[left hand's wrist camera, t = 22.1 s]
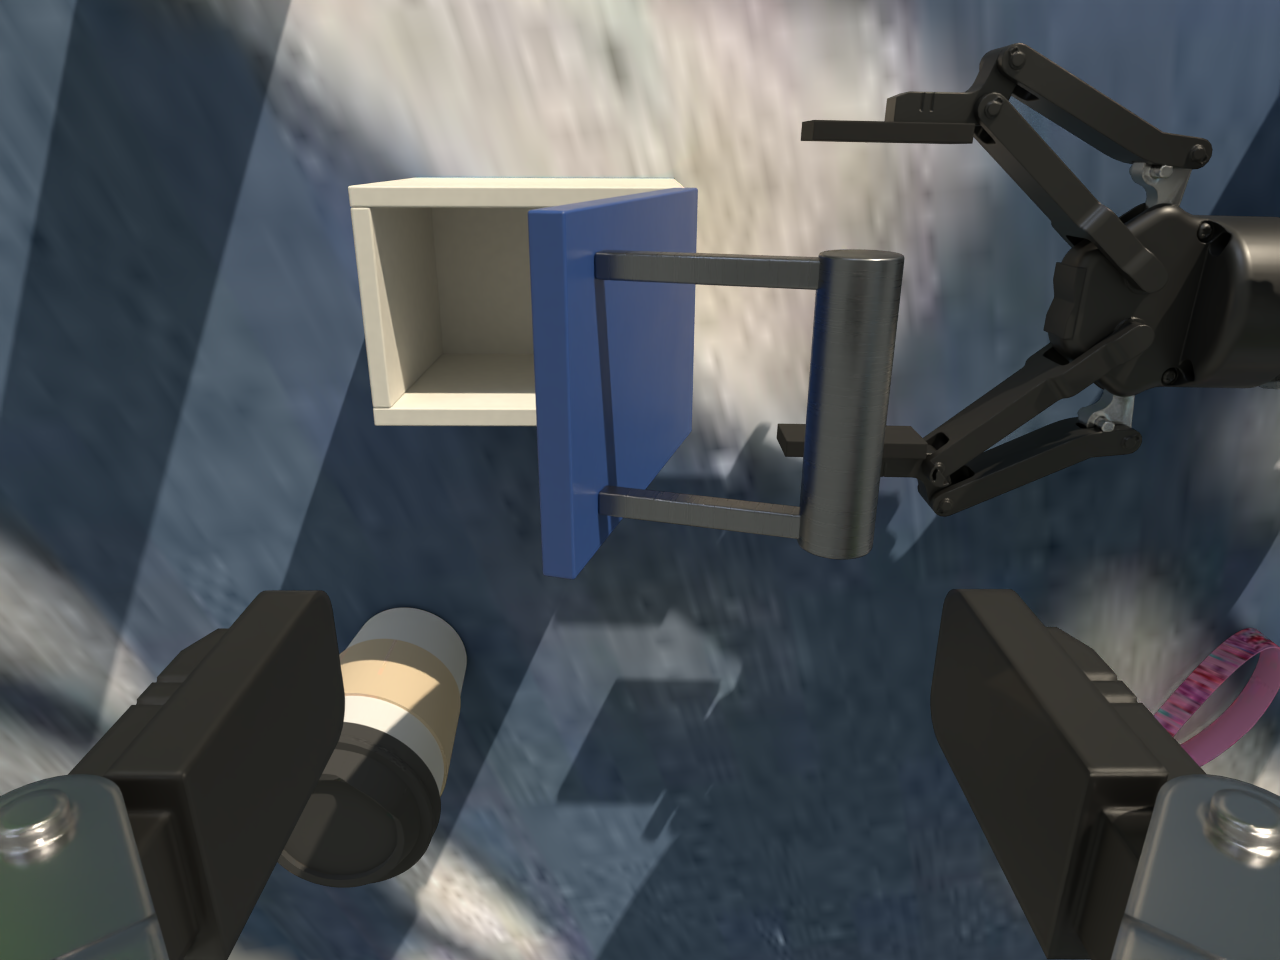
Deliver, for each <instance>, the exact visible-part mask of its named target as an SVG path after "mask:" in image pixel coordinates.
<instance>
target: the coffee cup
mask: <svg viewBox="0 0 1280 960" xmlns="http://www.w3.org/2000/svg"><path fill="white" fill-rule="evenodd" d="M339 657H340V664H341V671H342V677H343V684H344V692H345V715H344V723H343V728H342V732H341V735H340V738H339V741H338V743H337V745H336V747H335V749H334V751H333V753H332V755H331V757H330V759H329V761H328V763H327V765H326V767H325V769H324V771H323V773H322V775H321V777H320V779H319V781H318V783H317V785H316V787H315V789H314V791H313V793H312V795H311V796H310V798H309V800H308V802H307V804H306V806H305V808H304V810H303V812H302V814H301V816H300V818H299V820H298V822H297V824H296V826H295V828H294V830H293V832H292V834H291V836H290V838H289V840H288V842H287V844H286V846H285V848H284V849H283V851H282V853H281V855H280V857H279V859H278V861H277V862H278V863H279V864H280V865H281V866H283V867H284V868H285V869H287V870H288V871H289V872H291V873H293V874H294V875H296V876H298V877H300V878H302V879H305V880H307V881H310V882H313V883H316V884H320V885H324V886H330V887H357V886H362V885H366V884H369V883H376V882H380V881H384V880H387V879H390V878H392V877H395V876H397V875H399V874H401V873H403V872H405V871H406V870H408V869H409V868H411V867H412V866H413V865H414V864H415V863H416V862H417V861H418V860H419V859H420V858H421V857H422V856H423V854H424V853H425V851H426V850H427V848H428V846H429V844H430V841H431V838H432V836H433V834H434V832H435V830H436V828H437V826H438V822H439V818H440V812H441V800H440V796H441V795H442V793H443V790H444V788H445V784H446V780H447V775H448V770H449V765H450V759H451V754H452V749H453V744H454V739H455V734H456V729H457V724H458V718H459V713H460V707H461V699H460V695H461V691H462V686H463V681H464V676H465V671H466V665H467V656H466V651H465V647H464V645H463V642H462V640H461V639H460V637H459V635H458V634H457V633H456V631H455V630H454V629H453V628H452V627H451V626H450V625H449V624H448V623H447V622H445V621H444V620H443V619H441V618H439V617H438V616H436V615H434V614H432V613H429V612H427V611H424V610H420V609H415V608H394V609H389V610H386V611H383V612H381V613H378V614H377V615H375V616H373V617H372V618H371V619H369V620H368V621H367V622H366V623H365V624H364V626H363V627H362V628H361V630H360V631H359V632H358V634H357V635H356V636H355V638H354V639H353V640H352V642H351V643H350V644H349V646H348V647H347V648H346V650H345V651H343V652H342V653H341V654H340V655H339Z"/></svg>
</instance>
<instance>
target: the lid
mask: <svg viewBox="0 0 1280 960" xmlns="http://www.w3.org/2000/svg"><path fill="white" fill-rule="evenodd" d="M697 200H698V190H697V188H669V189H663V190H656V191H650V192H643V193H637V194H631V195H624V196H618V197H611V198H605V199H598V200H592V201H585V202H579V203H572V204H566V205H559V206H553V207H546V208H540V209H534V210H530V211H528V234H529V258H530V281H531V305H532V329H533V352H534V376H535V400H536V423H537V447H538V471H539V494H540V518H541V541H542V565H543V575H545V576H551V577H558V578H565V579H571V580H572V579H575V578H576V577H577V575H578V574H579V573H580V572H581V570H582V569H583V568H584V567H585V565H586V564H587V563H588V561H589V560H590V559H591V558H592V556H593V555H594V554H595V553H596V551H597V550H598V549H599V548H600V546H601V545H602V544H603V542H604V541H605V540H606V539H607V537H608V536H609V535H610V534H611V532H612V531H613V530H614V529H615V527H616V526H617V525H618V523H619V522H620V521H621V520H622V518H631V519H640V520H648V521H656V522H664V523H672V524H681V525H689V526H697V527H705V528H713V529H722V530H730V531H738V532H746V533H754V534H762V535H771V536H779V537H787V538H795V539H797V541H798V543H799V545H800V546H801V548H803V549H804V550H805V551H807V552H809V553H811V554H814V555H817V556H820V557H824V558H830V559H854V558H859V557H862V556H864V555H866V554H868V553H869V552H870V551H871V549H872V546H873V537H874V528H875V519H876V510H877V501H878V492H879V483H880V474H881V465H882V456H883V447H884V438H885V429H886V420H887V411H888V402H889V393H890V384H891V375H892V366H893V357H894V348H895V339H896V330H897V321H898V312H899V303H900V294H901V284H902V275H903V266H904V256H903V255H902V254H899V253H895V252H888V251H878V250H829V251H824V252H821V253H820V254H819V257H793V256H765V255H737V254H708V253H696V239H697ZM695 284H701V285H723V286H745V287H767V288H789V289H811V290H816V297H815V310H814V324H813V337H812V350H811V363H810V377H809V390H808V403H807V416H806V429H805V443H804V456H803V469H802V482H801V496H800V507H796V506H787V505H778V504H769V503H760V502H751V501H742V500H733V499H724V498H716V497H707V496H698V495H689V494H680V493H671V492H662V491H653V490H645V489H646V488H647V487H648V485H649V484H650V483H651V482H652V480H653V479H654V478H655V477H656V475H657V474H658V473H659V472H660V470H661V469H662V468H663V466H664V465H665V464H666V463H667V461H668V460H669V459H670V458H671V456H672V455H673V454H674V453H675V451H676V450H677V449H678V447H679V446H680V445H681V444H682V442H683V441H684V440H685V439H686V437H687V436H688V435H689V434H690V432H691V431H692V395H693V356H694V317H695Z"/></svg>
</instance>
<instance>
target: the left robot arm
mask: <svg viewBox="0 0 1280 960" xmlns="http://www.w3.org/2000/svg"><path fill="white" fill-rule="evenodd" d="M930 706H931V717H932V723H933V728H934V732H935V735H936V738H937V741H938V743H939V745H940V747H941V749H942V751H943V753H944V755H945V757H946V759H947V761H948V763H949V765H950V767H951V769H952V771H953V773H954V775H955V777H956V779H957V781H958V783H959V785H960V787H961V789H962V791H963V793H964V795H965V796H966V798H967V800H968V802H969V804H970V806H971V808H972V810H973V812H974V814H975V816H976V818H977V820H978V822H979V824H980V826H981V828H982V830H983V832H984V834H985V836H986V838H987V840H988V842H989V844H990V846H991V848H992V850H993V852H994V854H995V856H996V858H997V860H998V862H999V864H1000V866H1001V868H1002V870H1003V872H1004V874H1005V876H1006V878H1007V880H1008V882H1009V884H1010V886H1011V888H1012V890H1013V892H1014V894H1015V896H1016V898H1017V900H1018V902H1019V904H1020V906H1021V908H1022V910H1023V912H1024V914H1025V916H1026V918H1027V920H1028V922H1029V924H1030V926H1031V928H1032V930H1033V932H1034V934H1035V936H1036V937H1037V939H1038V941H1039V943H1040V945H1041V947H1042V949H1043V951H1044V953H1045V955H1046V957H1047V959H1091V960H1280V796H1278V795H1276V794H1274V793H1272V792H1269V791H1267V790H1265V789H1263V788H1260V787H1257V786H1255V785H1252V784H1249V783H1246V782H1243V781H1240V780H1236V779H1232V778H1227V777H1223V776H1216V775H1208V774H1206V773H1205V772H1204V771H1203V770H1202V769H1201V768H1200V766H1199V765H1198V764H1197V763H1196V762H1195V761H1194V760H1193V759H1192V758H1191V757H1190V755H1189V754H1188V753H1187V752H1186V751H1185V750H1184V749H1183V748H1182V747H1181V746H1180V744H1179V743H1178V742H1177V741H1176V740H1175V739H1174V738H1173V737H1172V736H1171V735H1170V733H1169V732H1168V731H1167V730H1166V729H1165V728H1164V727H1163V726H1162V725H1161V724H1160V722H1159V721H1158V720H1157V719H1156V718H1155V717H1154V716H1153V715H1152V714H1151V712H1150V711H1149V710H1148V709H1147V708H1146V707H1145V706H1144V705H1143V704H1142V703H1137V697H1136V696H1135V695H1134V694H1133V693H1132V692H1131V690H1130V689H1129V688H1128V687H1127V686H1126V685H1125V684H1124V683H1123V682H1122V681H1117V675H1116V674H1115V673H1114V672H1113V671H1112V670H1111V668H1110V667H1109V666H1108V665H1107V664H1106V663H1105V662H1104V661H1103V660H1102V659H1101V657H1100V656H1099V655H1098V654H1097V653H1096V652H1095V651H1094V650H1093V649H1092V648H1090V647H1089V646H1087V645H1085V644H1084V643H1082V642H1080V641H1079V640H1077V639H1075V638H1074V637H1072V636H1070V635H1069V634H1067V633H1065V632H1064V631H1062V630H1061V629H1059V628H1057V627H1045V626H1044V625H1043V624H1042V622H1041V621H1040V620H1039V619H1038V618H1037V617H1036V615H1035V614H1034V613H1033V612H1032V611H1031V609H1030V608H1029V607H1028V606H1027V605H1026V604H1025V602H1024V601H1023V600H1022V599H1021V598H1020V597H1019V595H1018V594H1017V593H1016V592H1015V591H1013V590H1011V589H952V590H950V591H949V592H948V594H947V596H946V598H945V601H944V605H943V610H942V617H941V624H940V631H939V638H938V645H937V652H936V659H935V666H934V673H933V680H932V686H931V697H930ZM344 715H345V692H344V684H343V677H342V671H341V664H340V657H339V650H338V643H337V637H336V630H335V623H334V616H333V610H332V605H331V601H330V599H329V596H328V595H327V593H325V592H324V591H263V592H261V593H260V594H258V595H257V597H256V598H255V599H254V600H253V601H252V602H251V604H250V605H249V606H248V607H247V608H246V609H245V611H244V612H243V613H242V614H241V615H240V616H239V618H238V619H237V620H236V621H235V622H234V623H233V625H232V626H231V627H230V628H229V629H217V630H215V631H213V632H212V633H210V634H208V635H207V636H205V637H203V638H202V639H200V640H199V641H197V642H195V643H194V644H192V645H190V646H189V647H187V648H185V649H184V650H182V651H181V652H180V653H179V654H178V655H177V656H176V657H175V658H174V659H173V660H172V662H171V663H170V664H169V665H168V666H167V667H166V668H165V669H164V670H163V671H162V672H161V674H160V675H159V676H158V677H157V682H156V683H151V685H150V686H149V687H148V688H147V689H146V690H145V691H144V692H143V693H142V694H141V695H140V697H139V698H138V699H137V704H136V705H131V706H130V707H129V709H128V710H127V711H126V712H125V713H124V714H123V715H122V716H121V717H120V718H119V719H118V721H117V722H116V723H115V724H114V725H113V726H112V727H111V728H110V729H109V730H108V731H107V733H106V734H105V735H104V736H103V737H102V738H101V739H100V740H99V741H98V742H97V743H96V745H95V746H94V747H93V748H92V749H91V750H90V751H89V752H88V753H87V754H86V755H85V757H84V758H83V759H82V760H81V761H80V762H79V763H78V764H77V765H76V766H75V767H74V769H73V770H72V771H71V772H70V773H69V774H68V775H64V776H57V777H53V778H48V779H44V780H40V781H37V782H34V783H31V784H28V785H25V786H23V787H20V788H17V789H15V790H13V791H11V792H8V793H6V794H4V795H2V796H0V960H227V959H228V957H229V955H230V953H231V951H232V950H233V948H234V946H235V944H236V942H237V940H238V938H239V936H240V934H241V932H242V930H243V928H244V926H245V924H246V922H247V920H248V918H249V916H250V914H251V912H252V910H253V908H254V906H255V904H256V902H257V900H258V899H259V897H260V895H261V893H262V891H263V889H264V887H265V885H266V883H267V881H268V879H269V877H270V875H271V873H272V871H273V869H274V867H275V865H276V863H277V861H278V859H279V857H280V855H281V853H282V851H283V849H284V848H285V846H286V844H287V842H288V840H289V838H290V836H291V834H292V832H293V830H294V828H295V826H296V824H297V822H298V820H299V818H300V816H301V814H302V812H303V810H304V808H305V806H306V804H307V802H308V800H309V798H310V796H311V795H312V793H313V791H314V789H315V787H316V785H317V783H318V781H319V779H320V777H321V775H322V773H323V771H324V769H325V767H326V765H327V763H328V761H329V759H330V757H331V755H332V753H333V751H334V749H335V747H336V745H337V743H338V741H339V738H340V735H341V732H342V728H343V723H344Z"/></svg>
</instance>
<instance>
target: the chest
mask: <svg viewBox="0 0 1280 960" xmlns="http://www.w3.org/2000/svg"><path fill="white" fill-rule="evenodd" d="M669 188H684V187H683V186H682V185H681V184H679V183H678V182H677V181H676V180H675V178H520V177H415V178H410V179H402V180H394V181H386V182H378V183H370V184H362V185H354V186H349V187H348V191H349V200H350V206H351V207H352V208H351V217H352V226H353V234H354V243H355V252H356V261H357V270H358V279H359V288H360V296H361V305H362V314H363V323H364V332H365V341H366V349H367V358H368V367H369V376H370V385H371V394H372V403H373V407H374V408H373V413H374V422H375V425H376V426H537V423H536V400H535V376H534V352H533V329H532V305H531V281H530V258H529V234H528V211H530V210H534V209H540V208H546V207H553V206H559V205H566V204H572V203H579V202H585V201H592V200H598V199H605V198H611V197H618V196H624V195H631V194H637V193H643V192H650V191H656V190H663V189H669Z"/></svg>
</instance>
